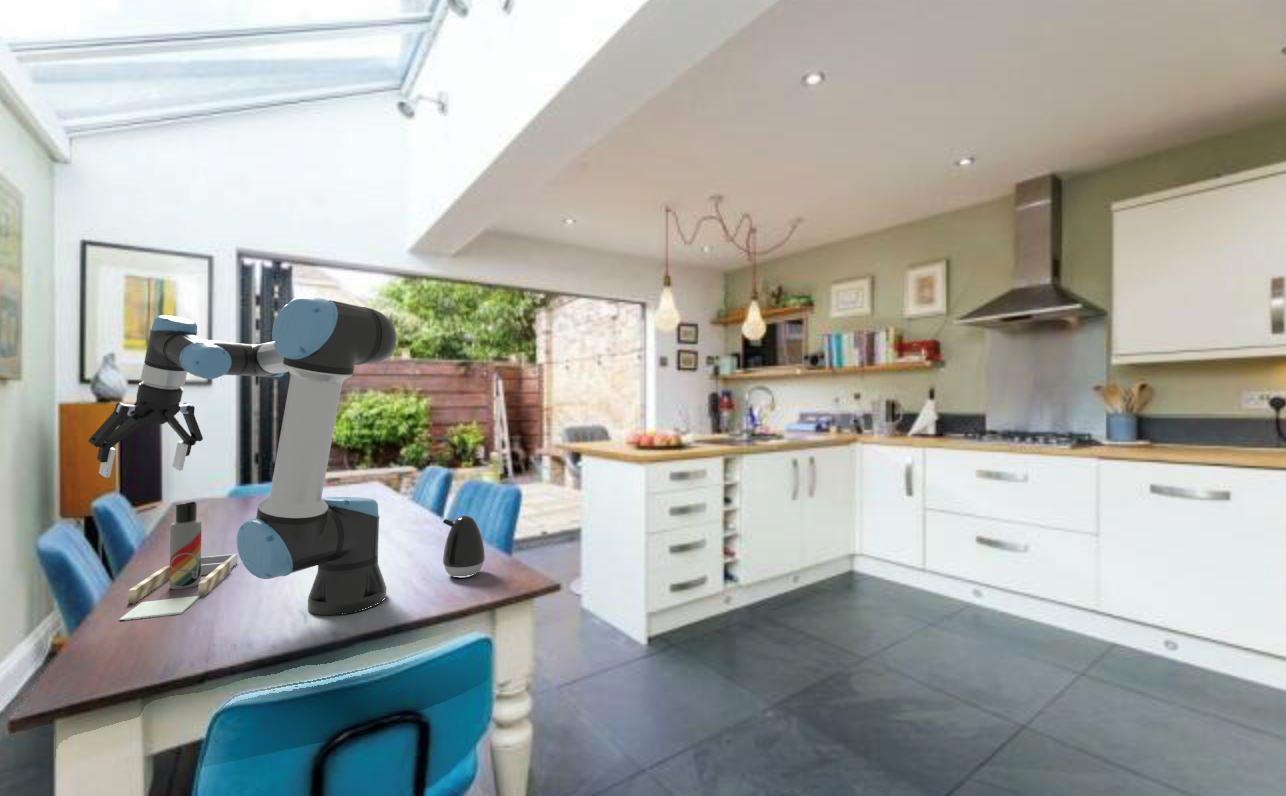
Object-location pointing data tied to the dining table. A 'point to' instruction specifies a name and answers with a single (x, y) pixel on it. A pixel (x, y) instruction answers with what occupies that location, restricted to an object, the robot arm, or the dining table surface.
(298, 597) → the dining table surface
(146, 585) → the oak channel
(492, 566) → the dining table surface
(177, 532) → the lotion bottle
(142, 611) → the pad
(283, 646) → the dining table surface
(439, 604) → the dining table surface
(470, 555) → the pump dispenser
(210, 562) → the pit bin
